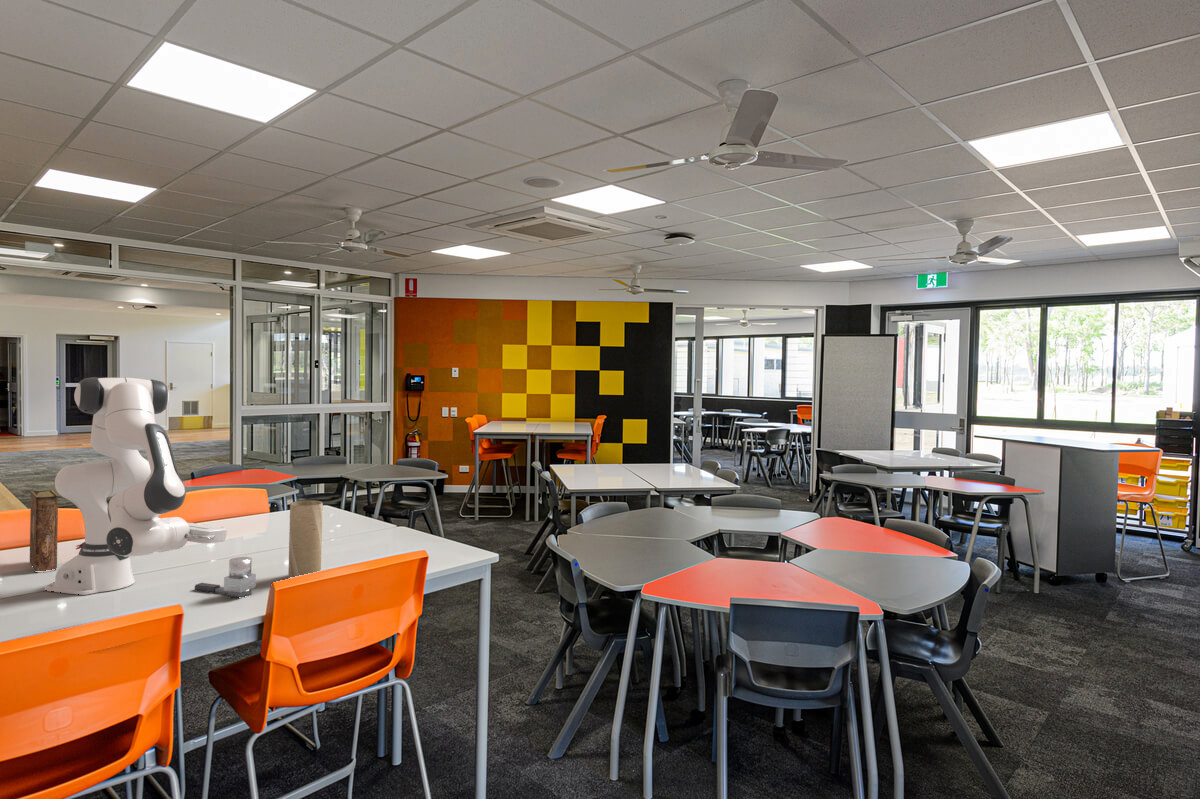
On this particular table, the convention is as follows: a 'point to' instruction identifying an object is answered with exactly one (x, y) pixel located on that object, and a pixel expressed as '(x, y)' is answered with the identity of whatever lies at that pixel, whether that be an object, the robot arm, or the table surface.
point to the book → (43, 530)
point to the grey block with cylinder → (240, 575)
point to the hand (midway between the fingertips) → (209, 528)
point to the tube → (305, 537)
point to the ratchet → (221, 590)
